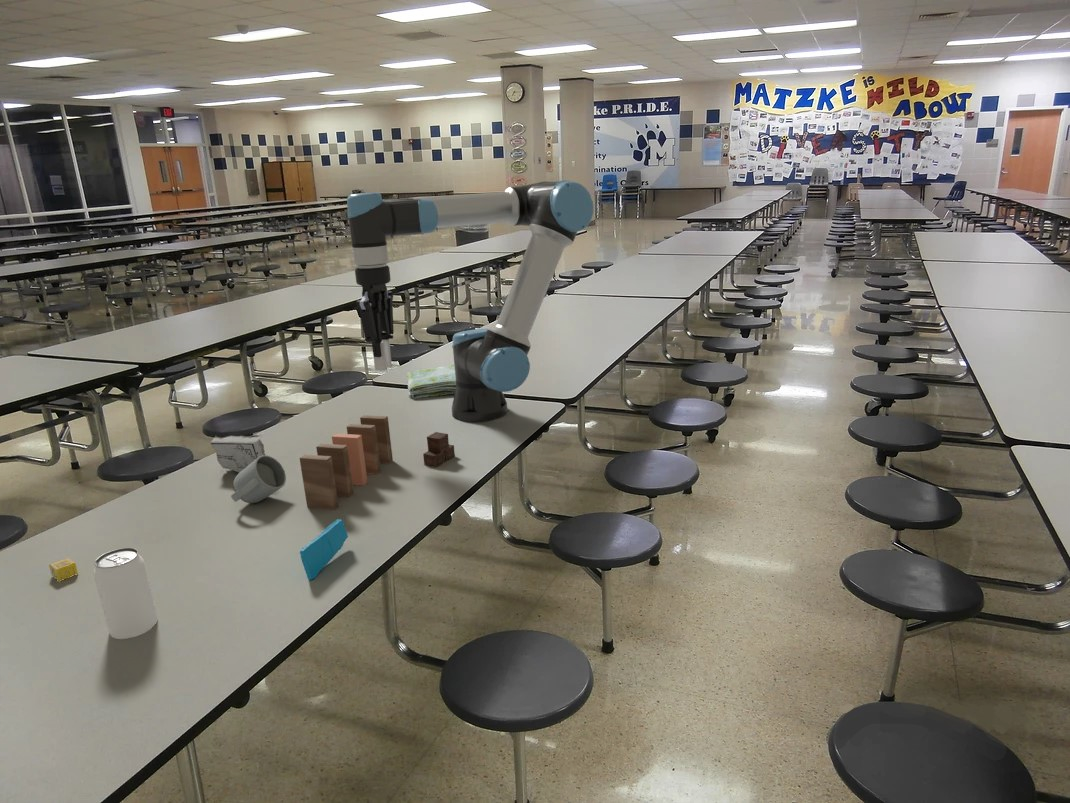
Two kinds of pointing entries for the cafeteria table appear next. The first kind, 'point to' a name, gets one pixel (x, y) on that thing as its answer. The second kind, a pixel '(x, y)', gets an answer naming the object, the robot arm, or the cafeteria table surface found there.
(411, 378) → the towel
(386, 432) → the domino
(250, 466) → the ceramic mug
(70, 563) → the small yellow block
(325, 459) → the domino
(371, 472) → the domino
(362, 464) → the domino
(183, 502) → the cafeteria table surface
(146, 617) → the can
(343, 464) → the domino
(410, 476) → the cafeteria table surface
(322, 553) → the sponge
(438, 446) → the stack of crates
